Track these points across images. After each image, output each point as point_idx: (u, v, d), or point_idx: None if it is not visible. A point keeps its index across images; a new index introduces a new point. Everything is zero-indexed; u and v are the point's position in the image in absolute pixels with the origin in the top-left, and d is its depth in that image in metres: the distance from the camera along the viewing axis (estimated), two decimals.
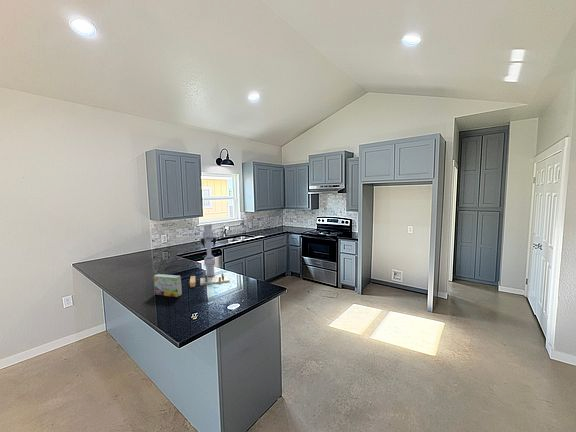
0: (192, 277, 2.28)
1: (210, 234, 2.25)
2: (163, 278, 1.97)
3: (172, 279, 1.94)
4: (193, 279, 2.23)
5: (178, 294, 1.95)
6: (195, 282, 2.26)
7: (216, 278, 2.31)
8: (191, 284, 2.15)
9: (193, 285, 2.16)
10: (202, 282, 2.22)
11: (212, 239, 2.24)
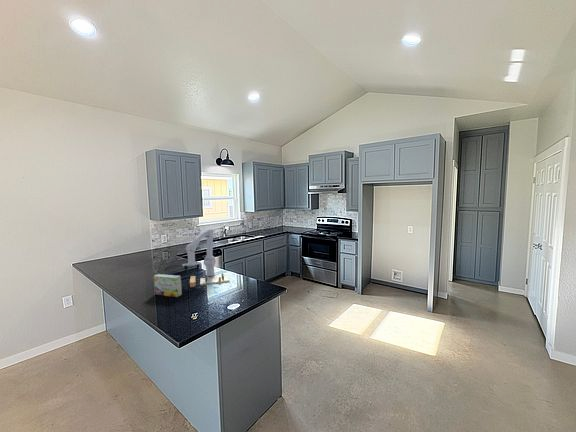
0: (192, 277, 2.28)
1: (193, 261, 2.21)
2: (163, 278, 1.97)
3: (172, 279, 1.94)
4: (193, 279, 2.23)
5: (178, 294, 1.95)
6: (195, 282, 2.26)
7: (216, 278, 2.31)
8: (191, 284, 2.15)
9: (193, 285, 2.16)
10: (202, 282, 2.22)
11: None
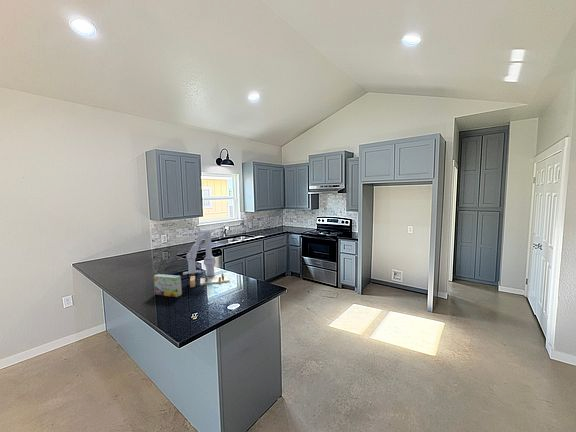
0: (192, 277, 2.28)
1: (194, 269, 2.21)
2: (163, 278, 1.97)
3: (172, 279, 1.94)
4: (193, 279, 2.23)
5: (178, 294, 1.95)
6: (195, 282, 2.26)
7: (216, 278, 2.31)
8: (191, 284, 2.15)
9: (193, 285, 2.16)
10: (202, 282, 2.22)
11: None
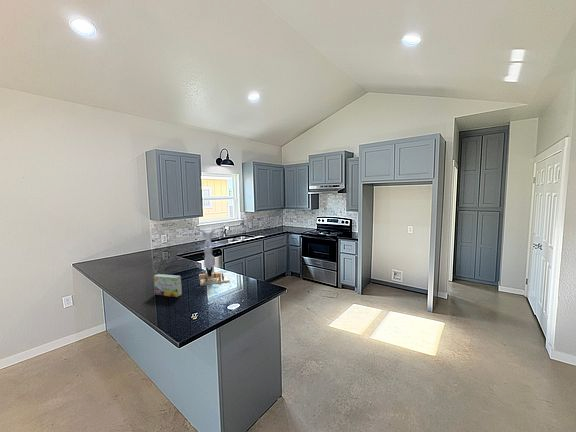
0: (216, 272, 2.30)
1: (206, 263, 2.25)
2: (163, 278, 1.97)
3: (172, 279, 1.94)
4: None
5: (178, 294, 1.95)
6: (212, 278, 2.27)
7: (216, 278, 2.31)
8: (199, 276, 2.26)
9: (199, 278, 2.25)
10: (202, 282, 2.22)
11: None
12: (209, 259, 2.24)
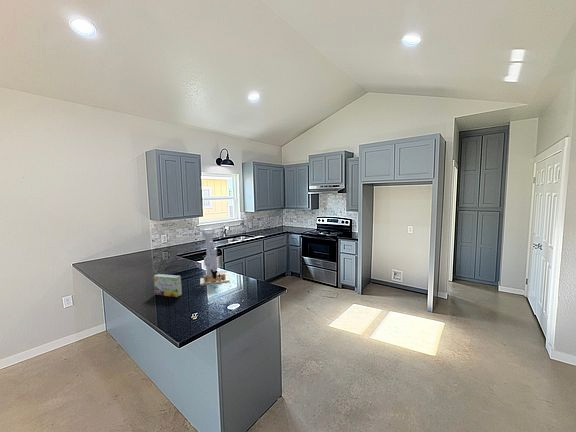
0: (220, 273, 2.31)
1: (211, 265, 2.26)
2: (163, 278, 1.97)
3: (172, 279, 1.94)
4: None
5: (178, 294, 1.95)
6: (217, 279, 2.28)
7: None
8: (204, 277, 2.27)
9: (204, 279, 2.26)
10: (202, 282, 2.22)
11: None
12: (215, 261, 2.26)
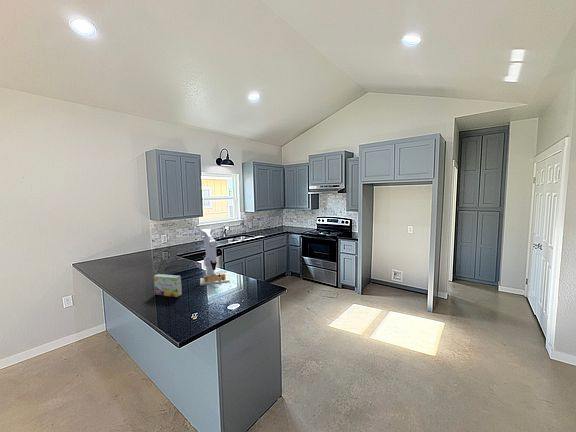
0: (220, 273, 2.31)
1: (210, 256, 2.30)
2: (163, 278, 1.97)
3: (172, 279, 1.94)
4: (213, 275, 2.28)
5: (178, 294, 1.95)
6: (217, 279, 2.28)
7: None
8: (204, 277, 2.27)
9: (204, 279, 2.26)
10: (202, 282, 2.22)
11: None
12: (214, 252, 2.31)
